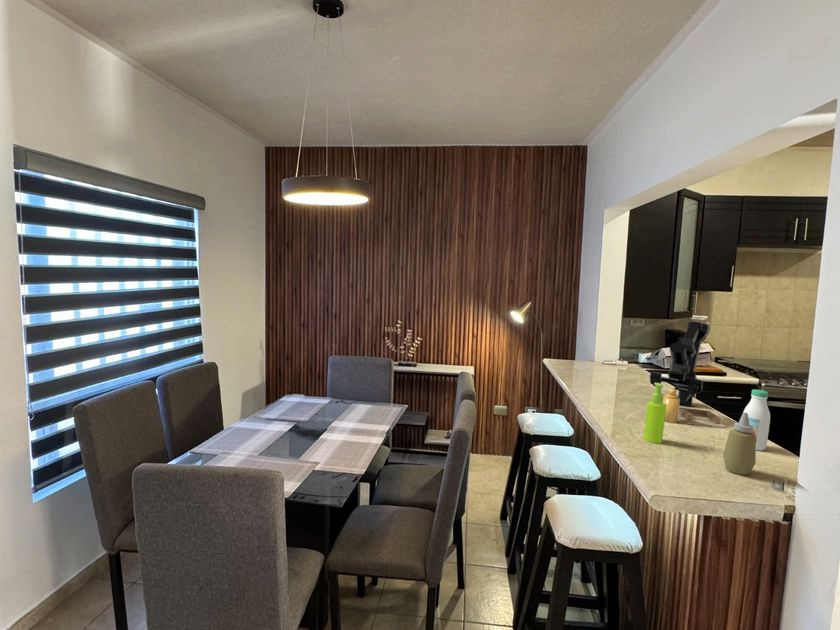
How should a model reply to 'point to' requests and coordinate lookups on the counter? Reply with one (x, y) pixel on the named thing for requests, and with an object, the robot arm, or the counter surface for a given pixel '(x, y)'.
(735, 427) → the squeeze bottle
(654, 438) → the soap dispenser
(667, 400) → the amber bottle
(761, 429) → the milk bottle
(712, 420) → the u rest
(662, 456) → the counter surface
